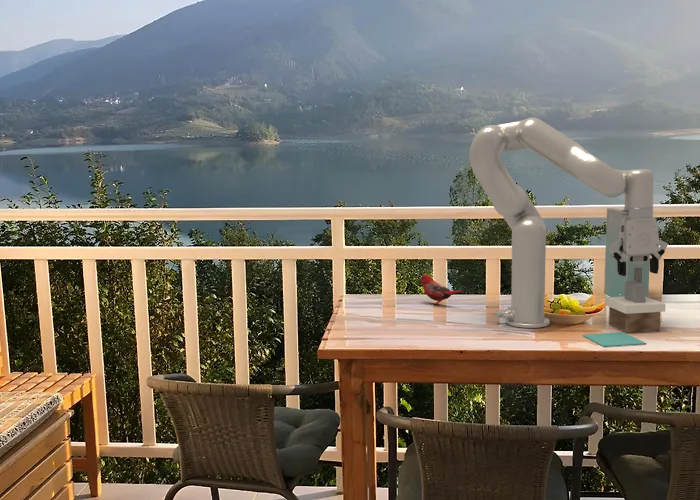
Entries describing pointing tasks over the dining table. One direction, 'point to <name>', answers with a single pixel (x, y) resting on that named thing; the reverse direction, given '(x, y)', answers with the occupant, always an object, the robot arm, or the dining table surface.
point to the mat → (613, 339)
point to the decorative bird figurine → (435, 289)
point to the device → (634, 263)
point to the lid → (634, 300)
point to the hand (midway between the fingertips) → (637, 274)
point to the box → (634, 321)
